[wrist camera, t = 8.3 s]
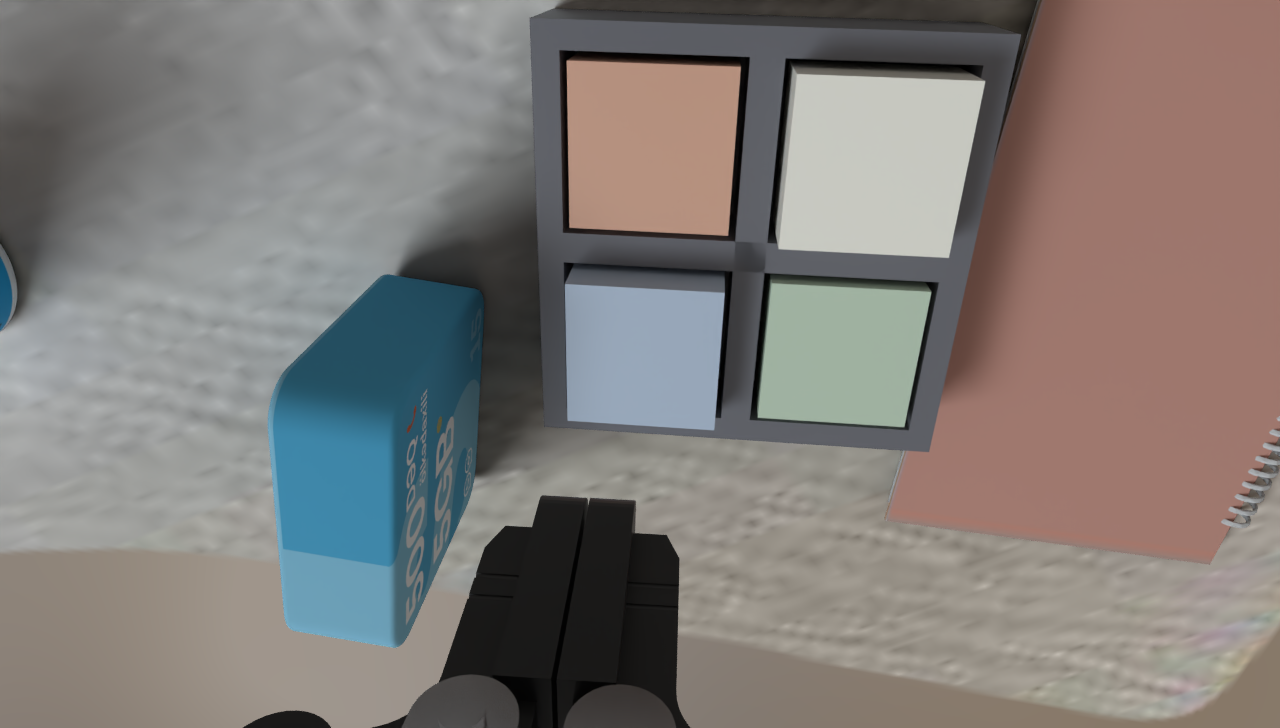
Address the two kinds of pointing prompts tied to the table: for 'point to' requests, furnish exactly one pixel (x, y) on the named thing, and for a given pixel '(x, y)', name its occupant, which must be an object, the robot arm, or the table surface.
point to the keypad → (758, 198)
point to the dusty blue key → (643, 345)
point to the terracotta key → (651, 141)
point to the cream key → (874, 157)
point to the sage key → (839, 348)
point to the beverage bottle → (6, 289)
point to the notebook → (1120, 289)
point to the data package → (376, 457)
